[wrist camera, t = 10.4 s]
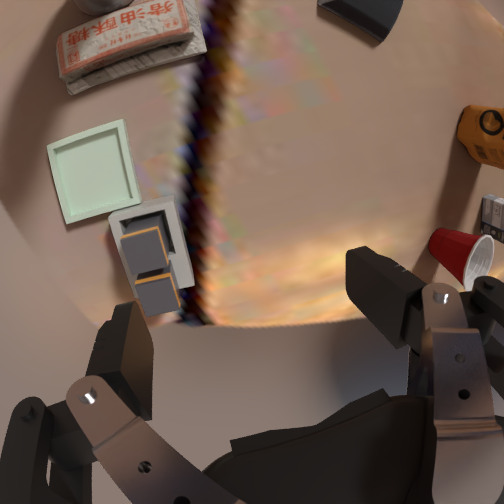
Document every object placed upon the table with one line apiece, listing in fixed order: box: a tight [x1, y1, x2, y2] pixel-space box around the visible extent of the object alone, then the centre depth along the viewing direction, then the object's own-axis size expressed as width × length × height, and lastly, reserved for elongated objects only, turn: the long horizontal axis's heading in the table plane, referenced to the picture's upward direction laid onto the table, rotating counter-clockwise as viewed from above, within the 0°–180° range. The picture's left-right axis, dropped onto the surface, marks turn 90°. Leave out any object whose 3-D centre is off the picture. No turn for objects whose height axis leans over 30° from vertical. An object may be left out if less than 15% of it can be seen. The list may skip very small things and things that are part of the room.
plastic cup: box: [429, 228, 494, 291], centre depth 44 cm, size 11×11×12 cm
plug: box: [120, 211, 170, 275], centre depth 32 cm, size 4×4×8 cm
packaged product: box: [55, 0, 207, 95], centre depth 25 cm, size 18×5×10 cm
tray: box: [47, 119, 142, 224], centre depth 31 cm, size 11×11×2 cm
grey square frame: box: [108, 194, 195, 317], centre depth 33 cm, size 11×8×9 cm
